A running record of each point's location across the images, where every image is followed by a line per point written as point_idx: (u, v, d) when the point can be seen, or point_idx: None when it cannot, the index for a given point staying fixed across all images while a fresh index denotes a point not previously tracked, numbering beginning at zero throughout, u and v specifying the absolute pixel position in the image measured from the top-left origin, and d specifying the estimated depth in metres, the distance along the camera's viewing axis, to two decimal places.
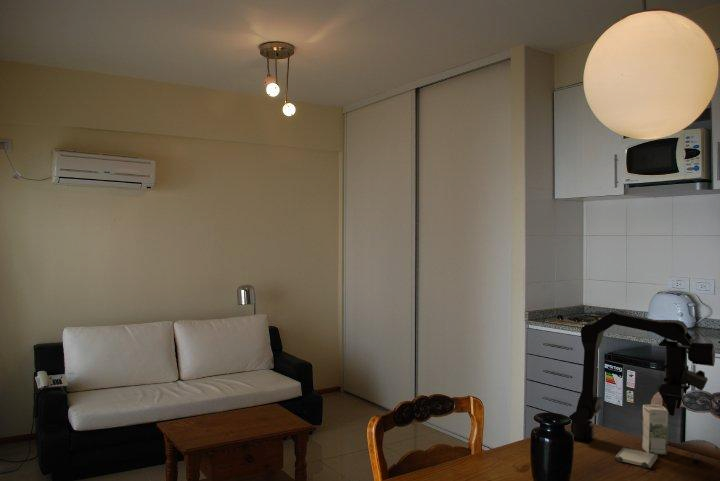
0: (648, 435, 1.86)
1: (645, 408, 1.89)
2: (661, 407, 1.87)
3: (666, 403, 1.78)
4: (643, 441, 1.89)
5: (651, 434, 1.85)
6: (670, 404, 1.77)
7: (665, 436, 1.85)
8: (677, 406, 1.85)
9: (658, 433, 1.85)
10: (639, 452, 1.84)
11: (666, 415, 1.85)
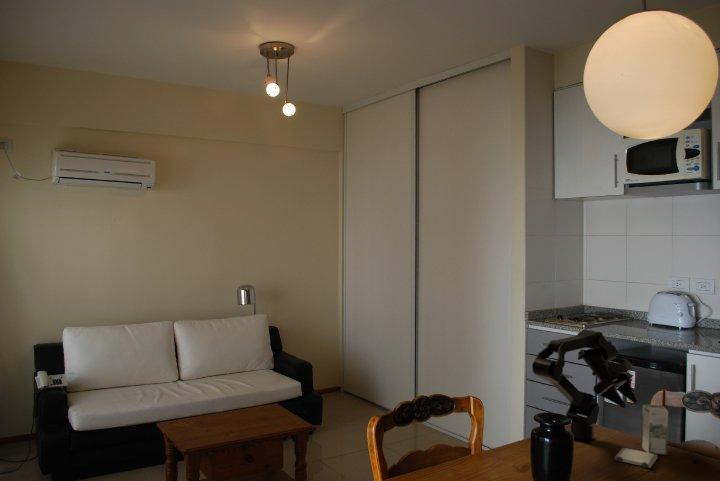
0: (648, 435, 1.86)
1: (645, 408, 1.89)
2: (661, 407, 1.87)
3: (612, 400, 1.91)
4: (643, 441, 1.89)
5: (651, 434, 1.85)
6: (615, 398, 1.91)
7: (665, 436, 1.85)
8: (634, 400, 1.96)
9: (658, 433, 1.85)
10: (639, 452, 1.84)
11: (666, 415, 1.85)
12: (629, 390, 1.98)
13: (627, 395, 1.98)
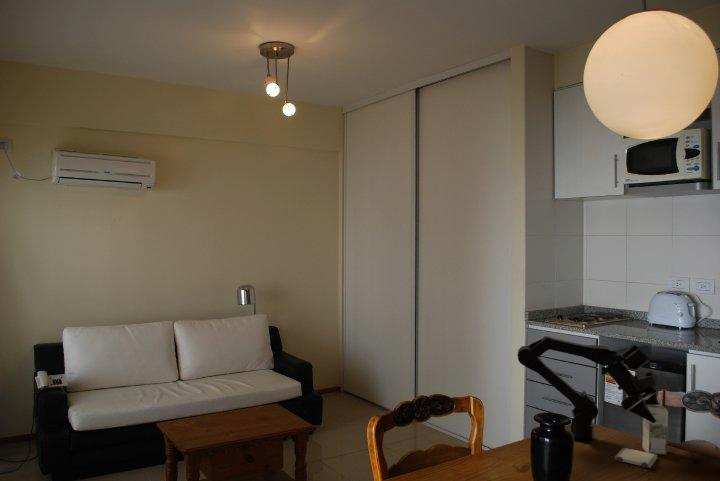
0: (648, 434, 1.86)
1: None
2: (661, 407, 1.87)
3: (641, 415, 1.86)
4: (643, 441, 1.89)
5: (651, 434, 1.85)
6: (644, 414, 1.85)
7: (665, 436, 1.85)
8: None
9: (658, 433, 1.85)
10: (639, 452, 1.84)
11: (666, 415, 1.85)
12: (656, 404, 1.92)
13: None
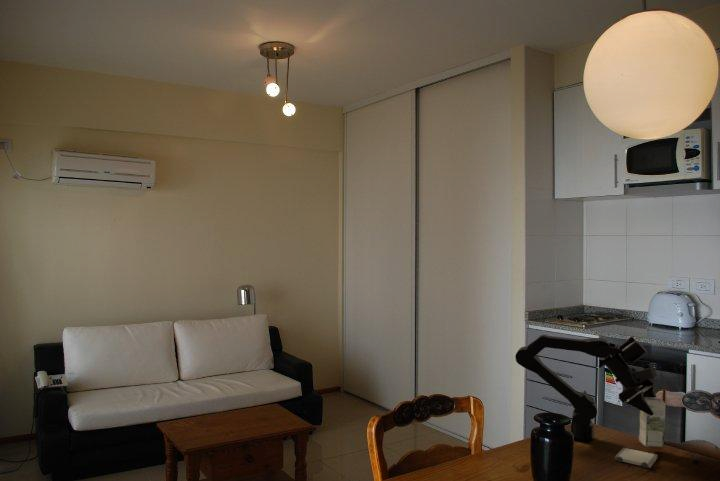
0: (645, 427, 1.85)
1: None
2: (658, 400, 1.86)
3: (639, 407, 1.85)
4: (640, 434, 1.89)
5: (648, 427, 1.85)
6: (642, 406, 1.84)
7: (662, 429, 1.84)
8: None
9: (655, 426, 1.84)
10: (639, 452, 1.84)
11: (663, 408, 1.84)
12: (653, 397, 1.91)
13: None
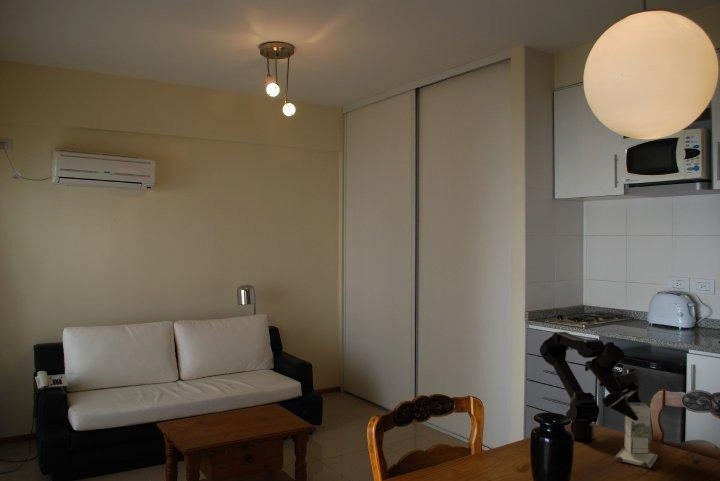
0: (630, 434, 1.80)
1: None
2: (643, 405, 1.80)
3: (623, 413, 1.79)
4: (626, 440, 1.83)
5: (633, 433, 1.79)
6: (626, 411, 1.79)
7: (647, 435, 1.79)
8: None
9: (640, 432, 1.79)
10: None
11: (648, 413, 1.78)
12: (638, 401, 1.85)
13: None
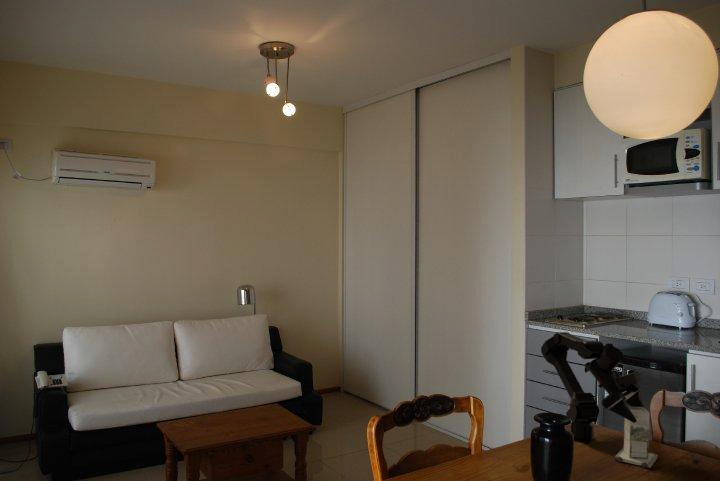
0: (629, 438, 1.80)
1: None
2: (643, 409, 1.81)
3: (622, 414, 1.78)
4: (625, 444, 1.83)
5: (631, 437, 1.79)
6: (625, 413, 1.78)
7: (646, 439, 1.78)
8: None
9: (639, 436, 1.79)
10: None
11: (647, 417, 1.78)
12: (639, 402, 1.85)
13: None
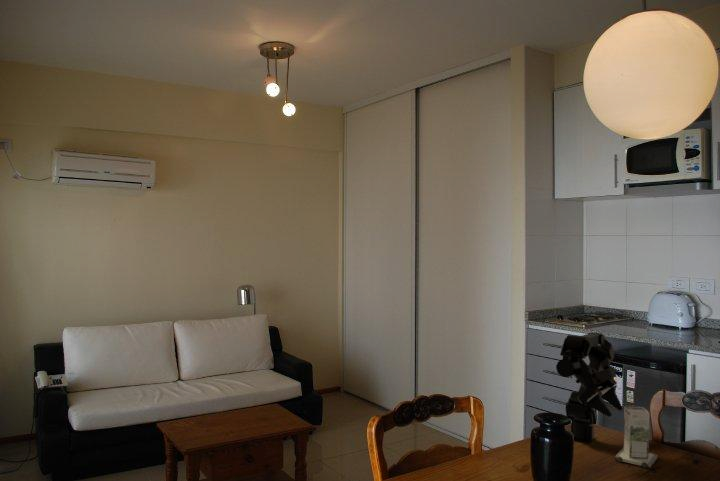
0: (628, 438, 1.80)
1: (626, 410, 1.82)
2: (643, 409, 1.81)
3: (597, 409, 1.84)
4: (625, 444, 1.83)
5: (631, 437, 1.79)
6: (600, 407, 1.83)
7: (646, 439, 1.78)
8: (619, 408, 1.89)
9: (639, 436, 1.79)
10: None
11: (647, 417, 1.78)
12: (614, 397, 1.91)
13: (612, 402, 1.91)
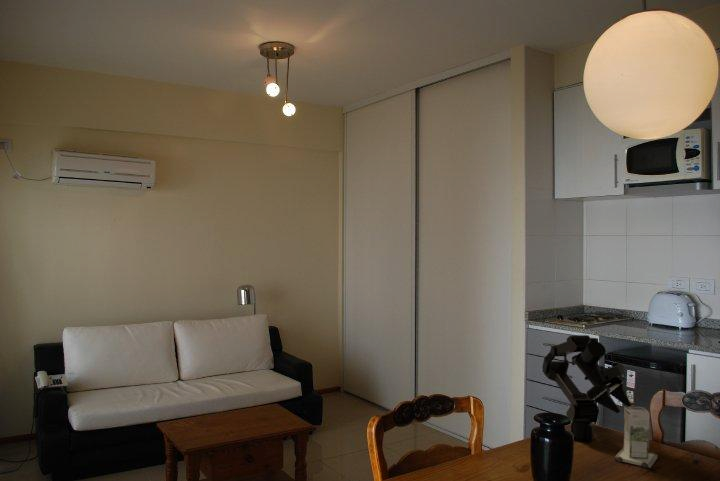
0: (628, 438, 1.80)
1: (626, 410, 1.82)
2: (643, 409, 1.81)
3: (606, 405, 1.86)
4: (625, 444, 1.83)
5: (631, 437, 1.79)
6: (609, 404, 1.85)
7: (646, 439, 1.78)
8: (628, 404, 1.91)
9: (639, 436, 1.79)
10: None
11: (647, 417, 1.78)
12: (622, 394, 1.93)
13: (621, 399, 1.93)
